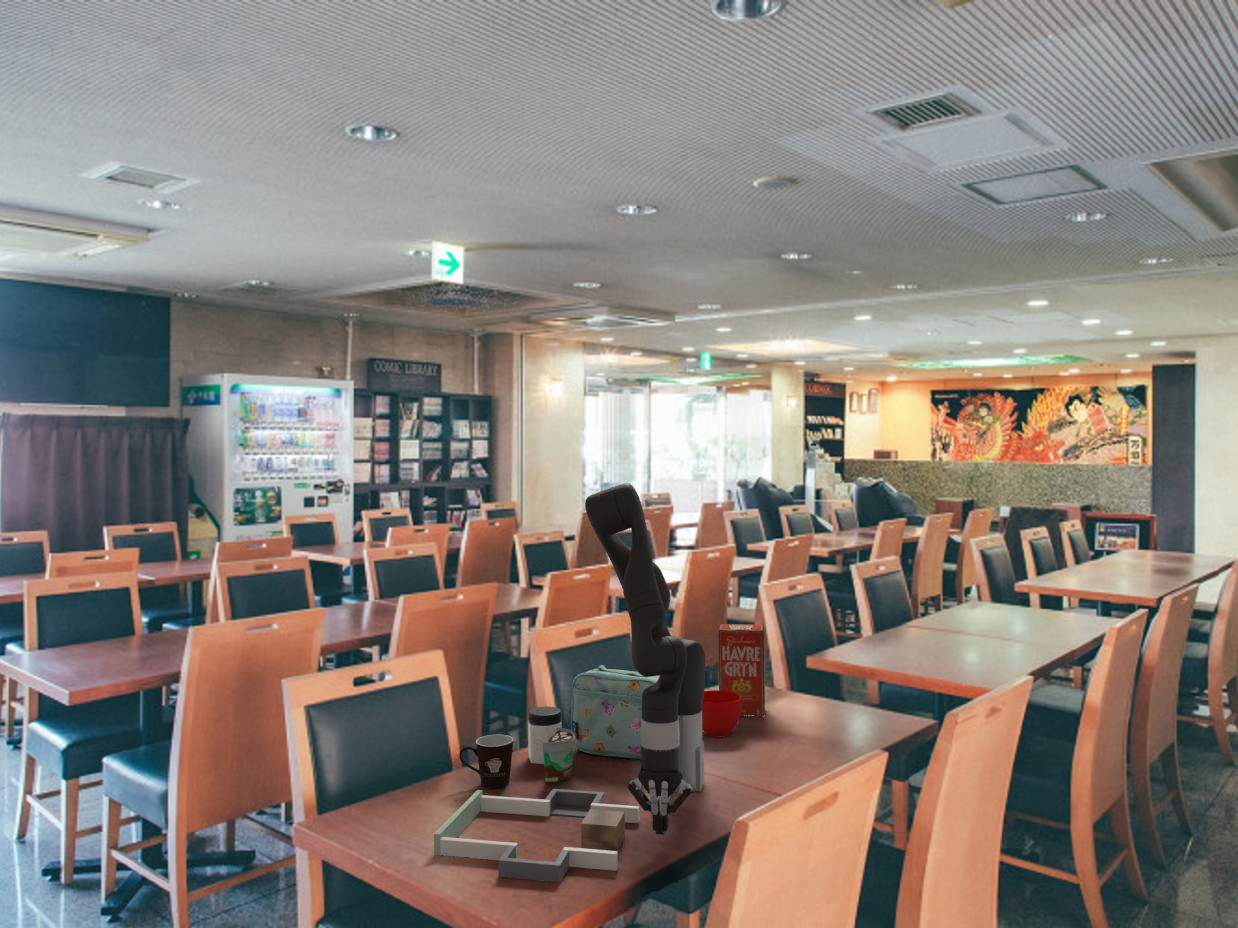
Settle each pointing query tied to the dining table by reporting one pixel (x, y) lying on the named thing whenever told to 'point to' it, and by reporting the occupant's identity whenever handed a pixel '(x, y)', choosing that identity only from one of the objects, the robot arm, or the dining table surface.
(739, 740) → the dining table surface
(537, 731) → the jar
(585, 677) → the lunch box
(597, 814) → the walnut block
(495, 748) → the coffee mug
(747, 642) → the food packaging
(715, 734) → the ceramic cup
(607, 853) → the track
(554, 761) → the food container
